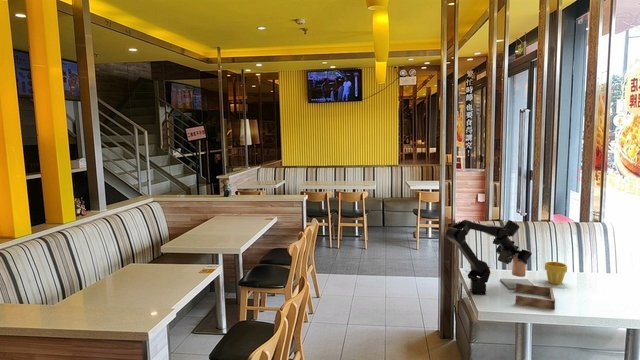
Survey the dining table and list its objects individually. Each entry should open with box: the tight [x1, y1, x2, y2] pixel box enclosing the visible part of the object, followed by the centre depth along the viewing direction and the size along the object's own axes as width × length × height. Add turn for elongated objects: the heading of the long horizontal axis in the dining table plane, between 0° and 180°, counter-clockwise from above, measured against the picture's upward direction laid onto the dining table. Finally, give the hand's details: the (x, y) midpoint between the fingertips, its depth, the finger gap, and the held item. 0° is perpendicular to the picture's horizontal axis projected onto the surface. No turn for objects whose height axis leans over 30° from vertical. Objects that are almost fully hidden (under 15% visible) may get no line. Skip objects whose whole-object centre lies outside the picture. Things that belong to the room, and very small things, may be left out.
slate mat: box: [499, 278, 535, 291], centre depth 224 cm, size 14×14×1 cm
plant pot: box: [544, 261, 568, 285], centre depth 227 cm, size 10×10×10 cm
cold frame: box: [514, 283, 556, 310], centre depth 204 cm, size 16×19×4 cm
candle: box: [511, 254, 527, 278], centre depth 223 cm, size 6×6×12 cm
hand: (521, 262), depth 223 cm, fingers closed on candle, 6 cm apart
